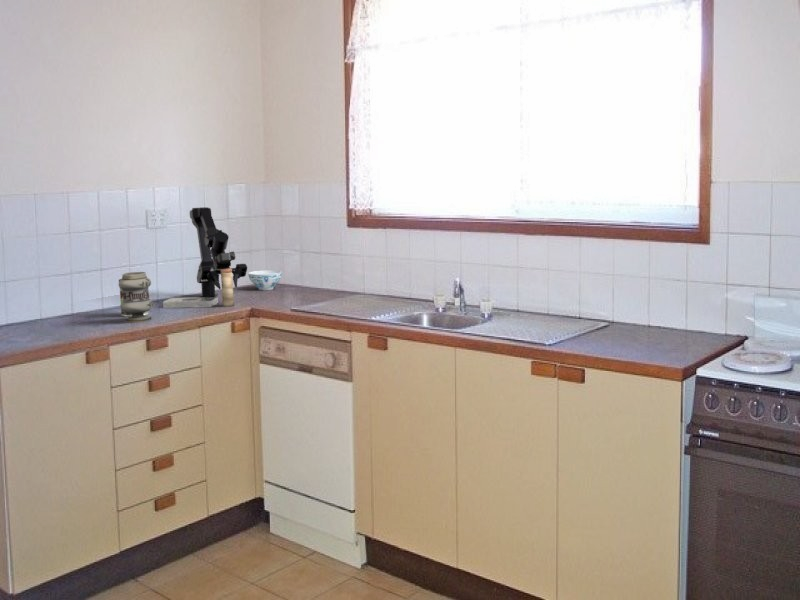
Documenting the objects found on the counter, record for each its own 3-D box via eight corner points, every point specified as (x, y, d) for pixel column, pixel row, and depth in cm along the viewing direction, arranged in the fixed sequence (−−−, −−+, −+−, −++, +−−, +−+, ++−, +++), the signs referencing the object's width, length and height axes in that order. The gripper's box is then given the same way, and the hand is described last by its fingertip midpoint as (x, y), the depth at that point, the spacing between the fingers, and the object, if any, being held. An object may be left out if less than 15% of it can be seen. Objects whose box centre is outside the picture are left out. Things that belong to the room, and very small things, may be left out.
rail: (171, 304, 397) (170, 298, 396) (218, 303, 395) (217, 297, 394) (163, 307, 387) (162, 301, 386) (211, 307, 385) (211, 300, 385)
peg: (224, 305, 389) (222, 268, 387) (235, 305, 388) (233, 268, 386) (221, 306, 384) (219, 270, 382) (232, 306, 384) (230, 269, 382)
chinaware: (271, 285, 443) (270, 269, 442) (289, 288, 432) (288, 271, 431) (243, 289, 434) (242, 272, 432) (260, 292, 422) (259, 275, 421)
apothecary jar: (120, 319, 362) (116, 272, 360) (152, 316, 366) (149, 269, 364) (122, 324, 351) (119, 275, 348) (156, 321, 355) (152, 273, 353)
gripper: (199, 247, 382) (207, 277, 374) (244, 243, 390) (253, 273, 382) (196, 264, 391) (204, 294, 382) (240, 261, 398) (249, 290, 390)
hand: (228, 287), depth 384 cm, fingers open, 6 cm apart
